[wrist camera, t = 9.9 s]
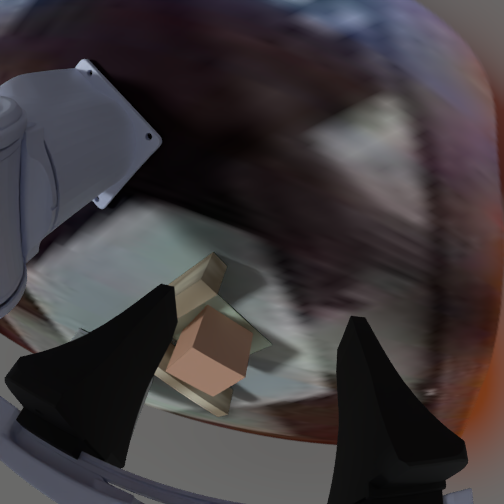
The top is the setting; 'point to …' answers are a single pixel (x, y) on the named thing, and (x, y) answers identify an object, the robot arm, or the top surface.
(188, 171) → the top surface
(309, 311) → the top surface
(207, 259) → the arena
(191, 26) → the top surface
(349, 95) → the top surface
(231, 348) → the cube
